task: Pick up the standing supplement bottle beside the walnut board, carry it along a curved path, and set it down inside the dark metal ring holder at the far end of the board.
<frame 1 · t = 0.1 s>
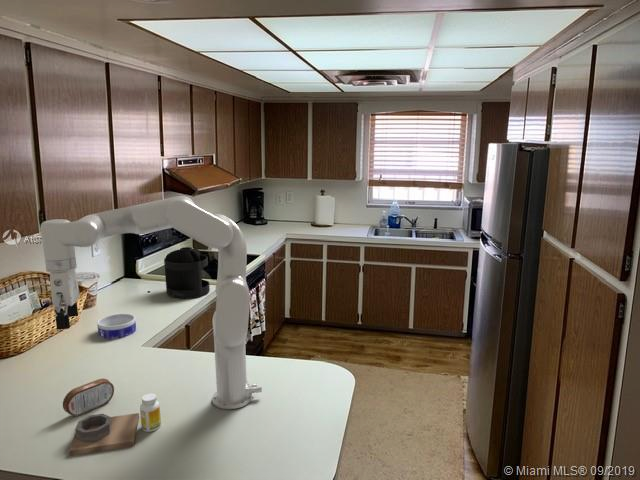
hand: (68, 322, 135), 31 cm above the worktop, tool pointing down, fingers open, 9 cm apart
tin: (91, 409, 148), on the worktop
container: (188, 293, 261), on the worktop
holder board: (106, 435, 135), on the worktop
dog bowl: (117, 333, 208), on the worktop
supplement bottle: (151, 427, 139), on the worktop
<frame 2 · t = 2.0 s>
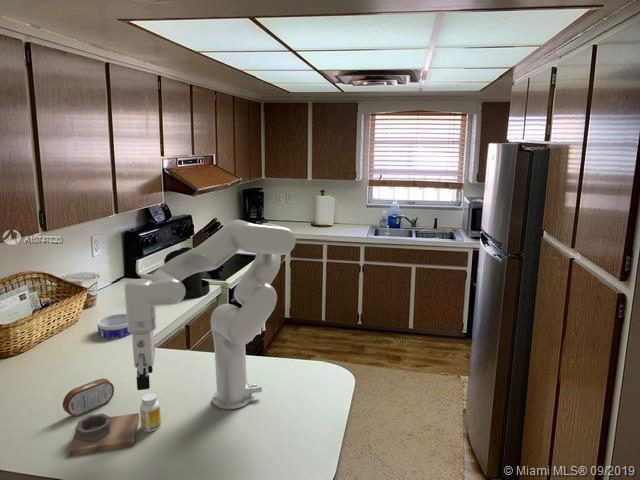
hand: (145, 380, 135), 15 cm above the worktop, tool pointing down, fingers open, 9 cm apart
nothing on the worktop moved.
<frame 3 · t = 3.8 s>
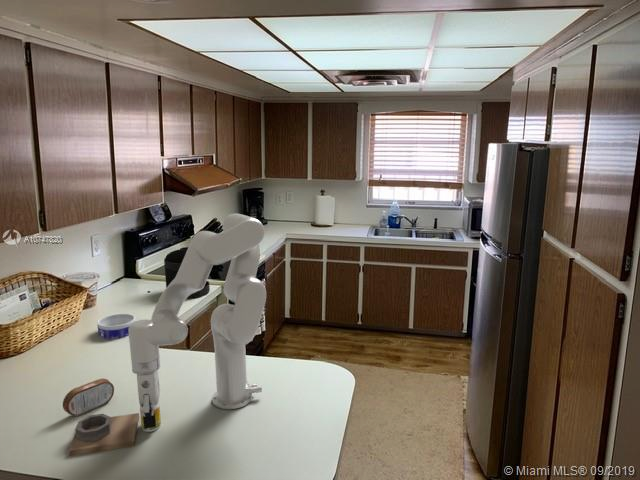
hand: (151, 420, 138), 2 cm above the worktop, tool pointing down, fingers closed on supplement bottle, 5 cm apart
supplement bottle: (151, 427, 139), on the worktop, touching gripper
everything else where it was.
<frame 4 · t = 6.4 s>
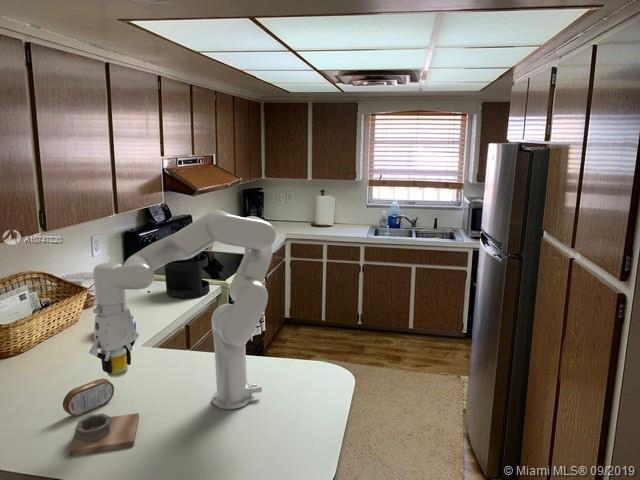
hand: (117, 367, 135), 19 cm above the worktop, tool pointing down, fingers closed on supplement bottle, 5 cm apart
supplement bottle: (117, 374, 136), point 16 cm above the worktop, touching gripper
everything else where it was.
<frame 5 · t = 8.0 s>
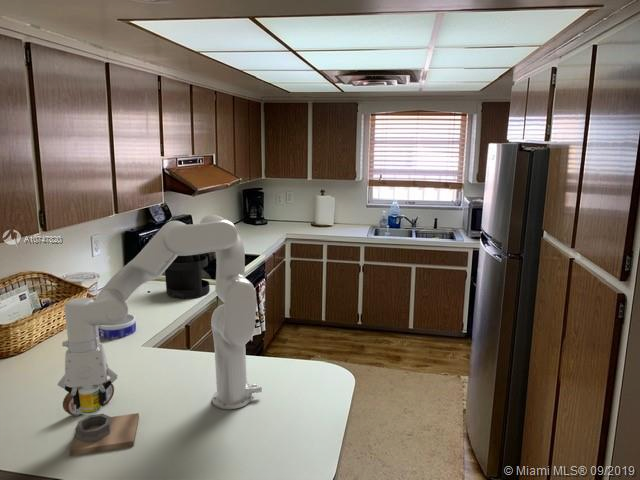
hand: (90, 404, 132), 10 cm above the worktop, tool pointing down, fingers closed on supplement bottle, 5 cm apart
supplement bottle: (91, 411, 132), point 8 cm above the worktop, touching gripper
everything else where it was.
when the fingers open (5 cm above the worktop, at t = 9.3 s): supplement bottle drops 1 cm, resting on holder board.
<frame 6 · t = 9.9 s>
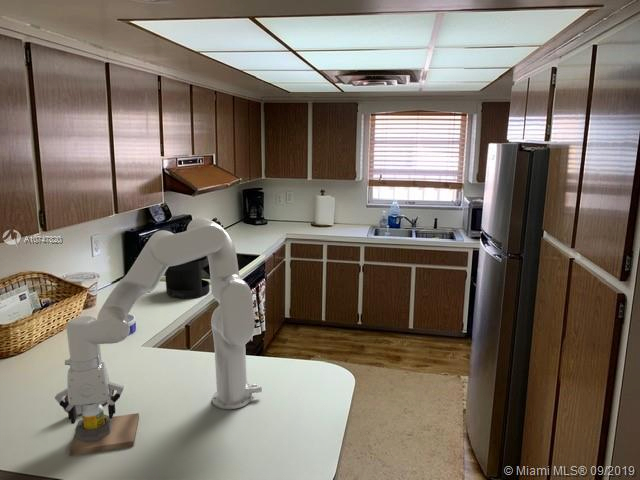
hand: (93, 418, 133), 6 cm above the worktop, tool pointing down, fingers open, 9 cm apart
supplement bottle: (95, 432, 134), point 1 cm above the worktop, touching holder board
everything else where it was.
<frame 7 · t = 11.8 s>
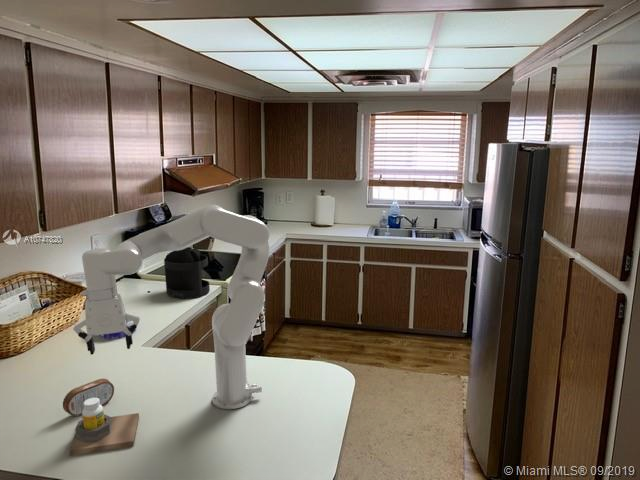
hand: (111, 349, 136), 23 cm above the worktop, tool pointing down, fingers open, 9 cm apart
nothing on the worktop moved.
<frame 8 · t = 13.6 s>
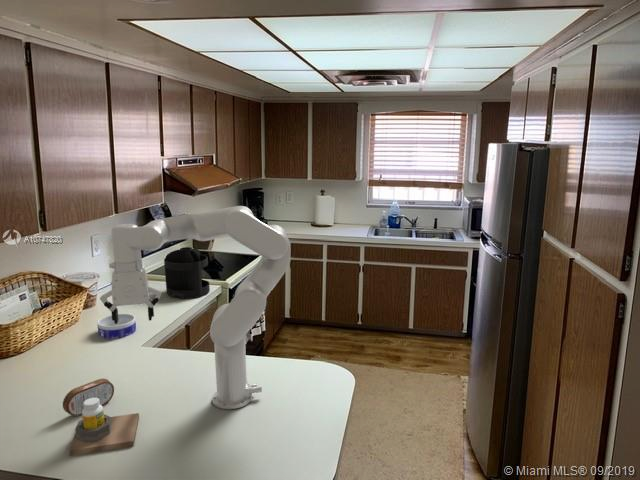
hand: (133, 320, 144), 28 cm above the worktop, tool pointing down, fingers open, 9 cm apart
nothing on the worktop moved.
at the end: supplement bottle 0.1 cm from the target spot on the holder board, point 1.3 cm above the holder board's base; supplement bottle tilted 0°; the gripper is holding nothing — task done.
